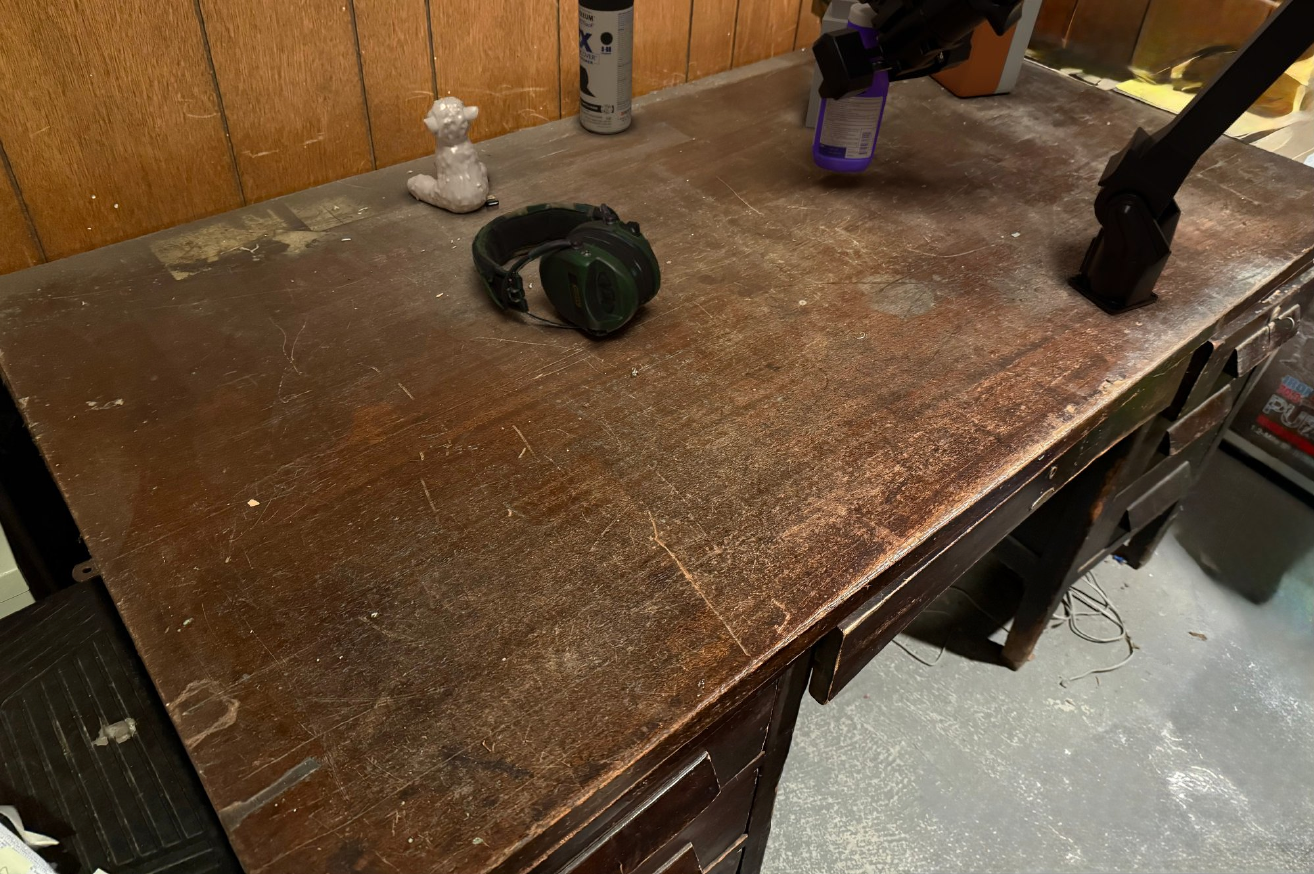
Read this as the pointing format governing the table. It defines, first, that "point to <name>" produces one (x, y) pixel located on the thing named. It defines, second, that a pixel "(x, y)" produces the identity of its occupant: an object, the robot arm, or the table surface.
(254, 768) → the table surface
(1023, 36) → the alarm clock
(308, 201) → the table surface
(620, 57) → the spray can
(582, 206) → the headphones
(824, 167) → the bottle
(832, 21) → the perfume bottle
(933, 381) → the table surface
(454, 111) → the sitting furry creature
